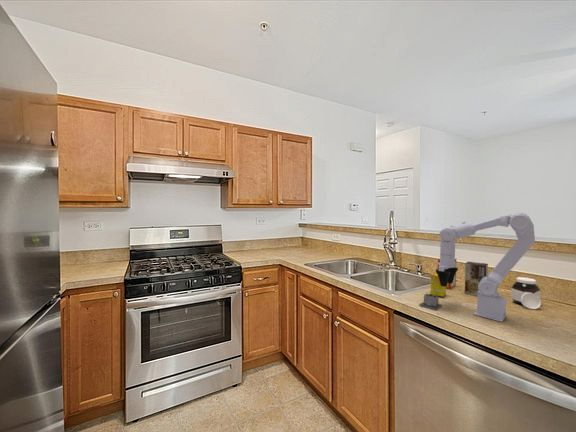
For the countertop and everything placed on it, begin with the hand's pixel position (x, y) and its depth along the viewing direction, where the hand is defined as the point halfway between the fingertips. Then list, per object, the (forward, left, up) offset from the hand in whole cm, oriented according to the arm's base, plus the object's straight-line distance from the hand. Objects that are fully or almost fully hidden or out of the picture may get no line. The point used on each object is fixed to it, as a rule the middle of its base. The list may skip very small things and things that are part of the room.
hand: (446, 284), depth 121 cm
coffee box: (-4, -30, -10) cm, 32 cm away
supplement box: (+8, -13, -10) cm, 18 cm away
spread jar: (-24, -30, -10) cm, 40 cm away
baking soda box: (+11, -33, -10) cm, 36 cm away
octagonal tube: (+4, +5, -9) cm, 11 cm away
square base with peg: (+4, +6, -10) cm, 12 cm away
